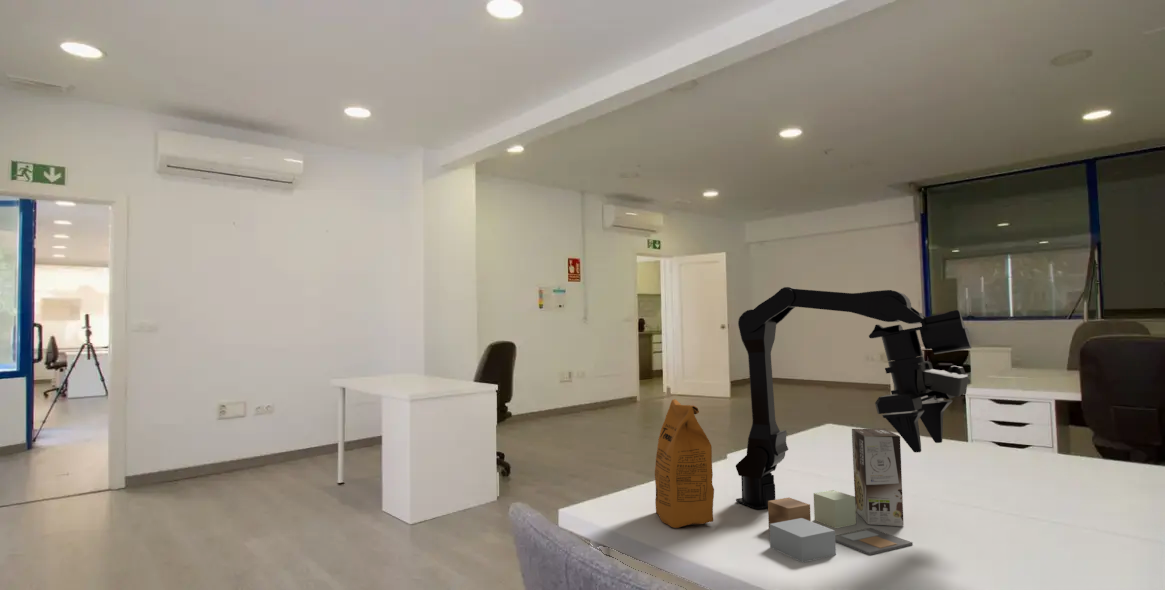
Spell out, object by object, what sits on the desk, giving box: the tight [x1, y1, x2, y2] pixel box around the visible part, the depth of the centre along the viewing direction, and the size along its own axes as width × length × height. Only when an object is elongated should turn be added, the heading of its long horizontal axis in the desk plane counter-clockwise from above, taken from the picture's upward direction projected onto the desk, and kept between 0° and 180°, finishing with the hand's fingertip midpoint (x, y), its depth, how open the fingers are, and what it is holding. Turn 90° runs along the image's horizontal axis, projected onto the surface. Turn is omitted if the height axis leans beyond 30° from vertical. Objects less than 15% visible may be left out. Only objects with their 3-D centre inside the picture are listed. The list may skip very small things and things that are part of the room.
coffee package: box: [654, 398, 715, 529], centre depth 111 cm, size 10×12×22 cm
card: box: [835, 527, 914, 556], centre depth 97 cm, size 8×10×1 cm
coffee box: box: [851, 428, 904, 527], centre depth 110 cm, size 9×6×16 cm
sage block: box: [813, 489, 857, 529], centre depth 108 cm, size 5×5×5 cm
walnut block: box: [767, 497, 812, 530], centre depth 103 cm, size 5×5×5 cm
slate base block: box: [769, 518, 837, 563], centre depth 94 cm, size 7×7×4 cm
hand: (928, 447), depth 102 cm, fingers open, 9 cm apart
